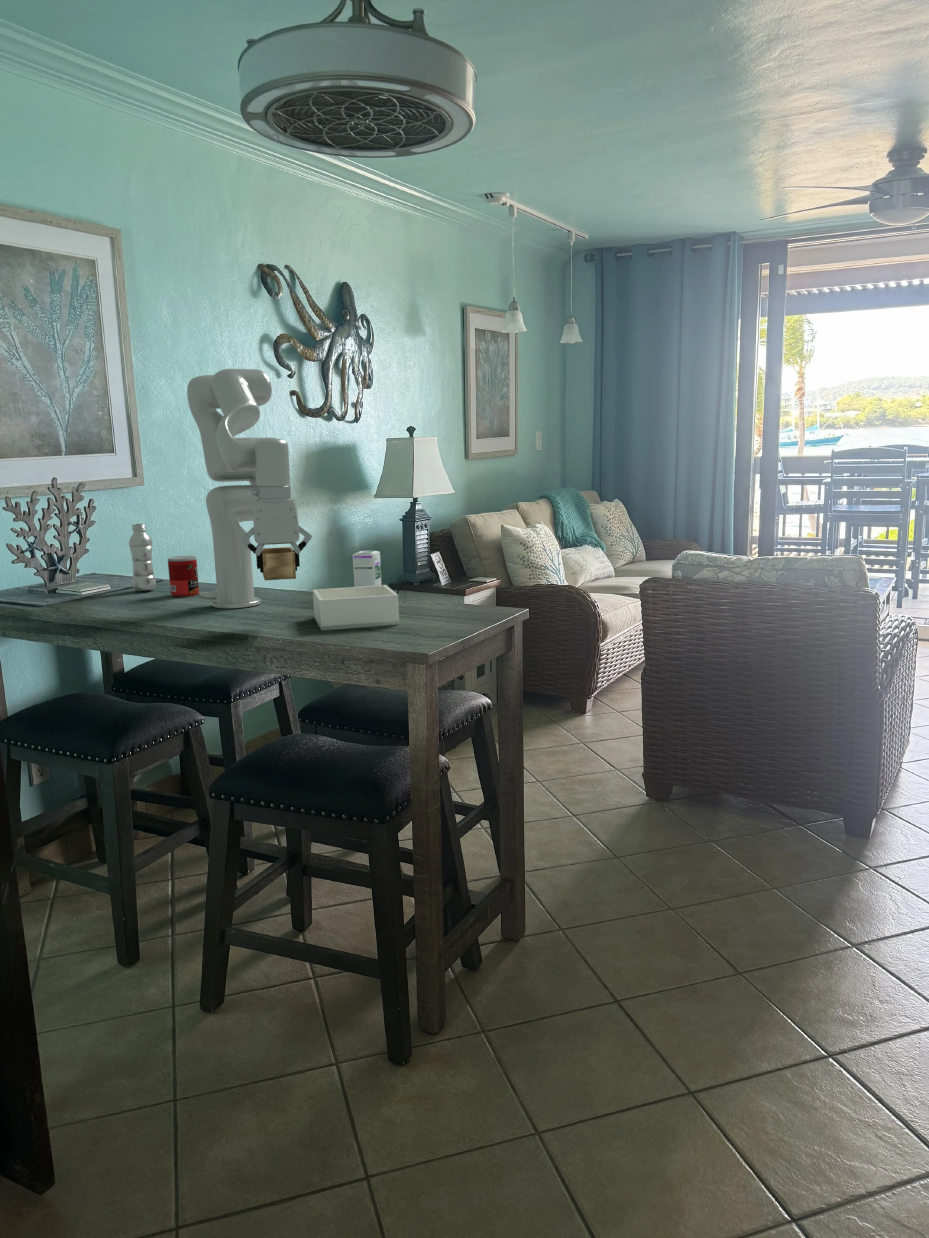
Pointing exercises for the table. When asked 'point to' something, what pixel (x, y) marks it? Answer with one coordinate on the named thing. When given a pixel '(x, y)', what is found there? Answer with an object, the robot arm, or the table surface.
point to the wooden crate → (278, 563)
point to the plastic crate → (355, 607)
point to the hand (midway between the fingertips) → (278, 570)
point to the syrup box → (367, 568)
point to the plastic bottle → (142, 559)
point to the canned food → (183, 576)
